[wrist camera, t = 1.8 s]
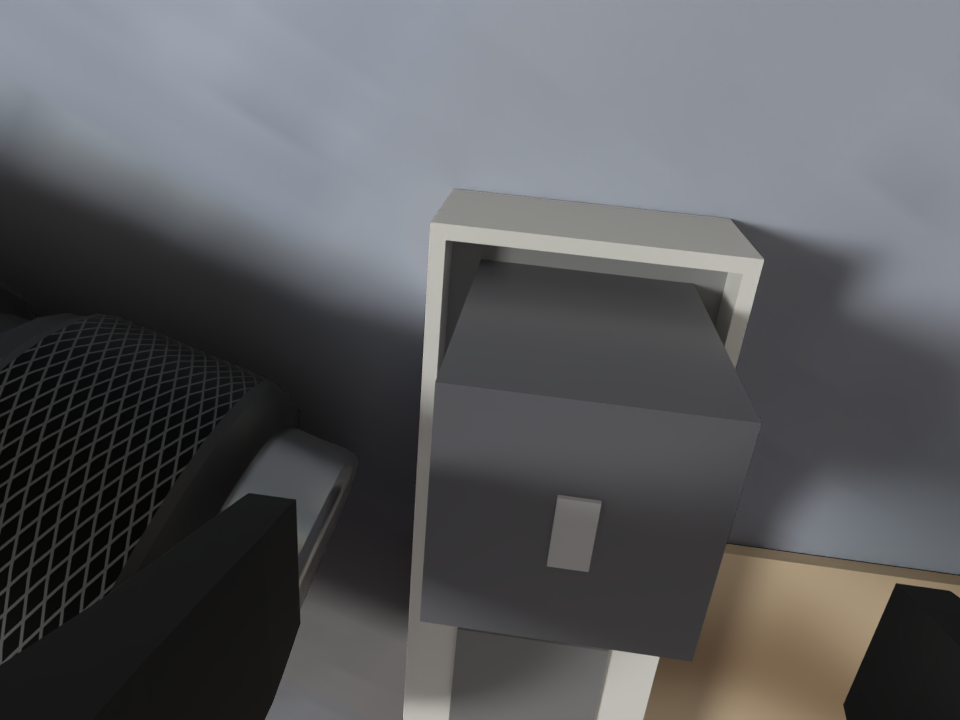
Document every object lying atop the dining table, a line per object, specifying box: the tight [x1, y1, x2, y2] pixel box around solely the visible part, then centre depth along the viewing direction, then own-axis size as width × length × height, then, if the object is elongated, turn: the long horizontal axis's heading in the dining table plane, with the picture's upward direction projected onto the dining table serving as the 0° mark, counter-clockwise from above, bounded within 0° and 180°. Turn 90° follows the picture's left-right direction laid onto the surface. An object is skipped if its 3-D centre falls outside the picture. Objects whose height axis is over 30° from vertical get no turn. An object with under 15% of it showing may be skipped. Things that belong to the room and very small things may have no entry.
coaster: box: [643, 544, 960, 720], centre depth 20 cm, size 9×9×1 cm
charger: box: [420, 259, 762, 662], centre depth 13 cm, size 4×4×6 cm
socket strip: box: [403, 189, 764, 720], centre depth 18 cm, size 20×6×4 cm, turn 175°
